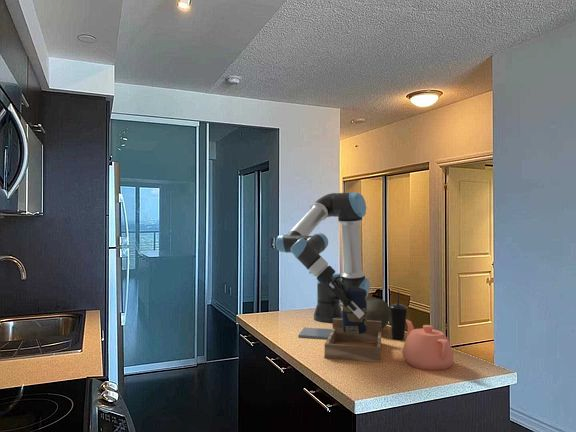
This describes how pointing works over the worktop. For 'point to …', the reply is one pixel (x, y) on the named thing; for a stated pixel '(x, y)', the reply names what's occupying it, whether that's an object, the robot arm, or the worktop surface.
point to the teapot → (427, 348)
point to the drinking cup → (398, 320)
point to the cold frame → (350, 350)
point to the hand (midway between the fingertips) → (362, 313)
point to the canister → (349, 318)
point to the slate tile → (315, 333)
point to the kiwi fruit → (378, 311)
